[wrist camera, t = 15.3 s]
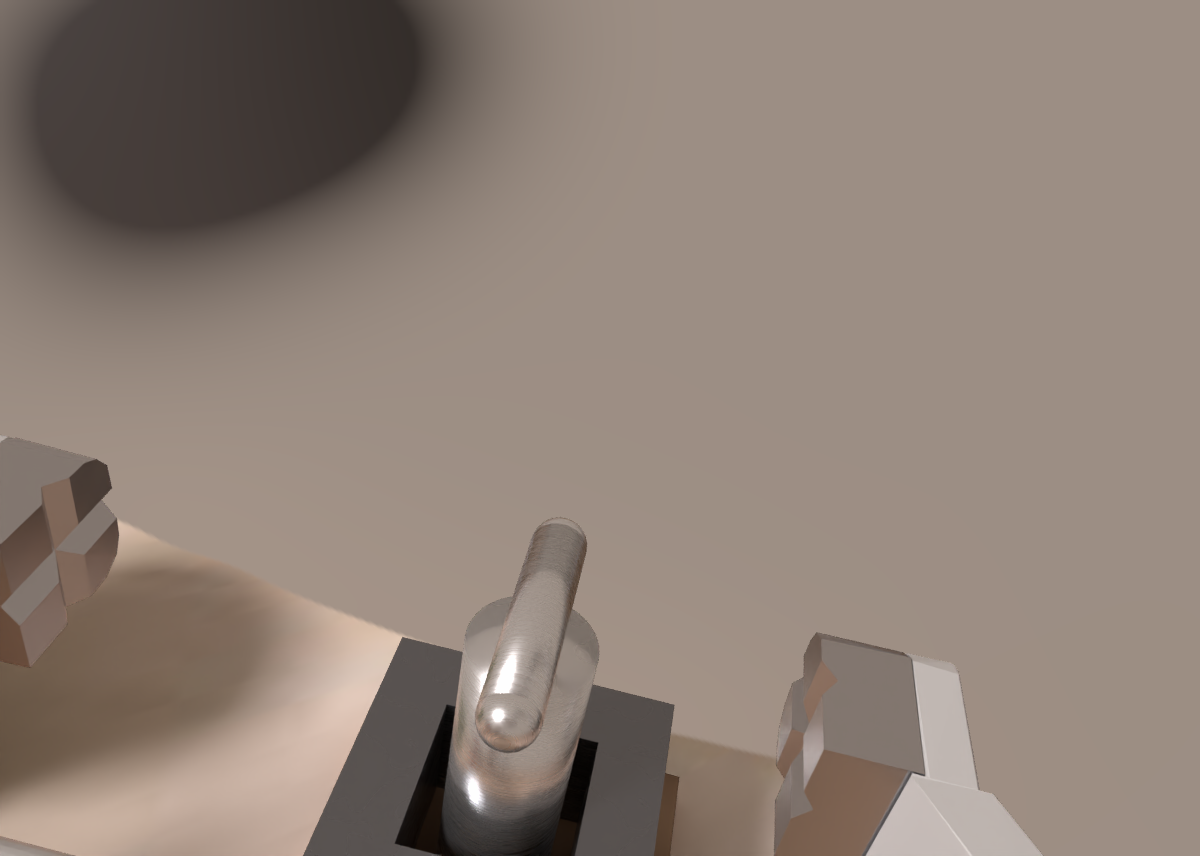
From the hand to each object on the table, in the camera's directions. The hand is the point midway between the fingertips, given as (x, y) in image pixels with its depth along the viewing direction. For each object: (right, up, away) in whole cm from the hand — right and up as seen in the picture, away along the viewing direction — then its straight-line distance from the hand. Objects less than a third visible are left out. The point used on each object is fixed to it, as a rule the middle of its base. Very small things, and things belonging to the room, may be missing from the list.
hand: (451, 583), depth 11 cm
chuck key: (-2, -14, +25) cm, 29 cm away
